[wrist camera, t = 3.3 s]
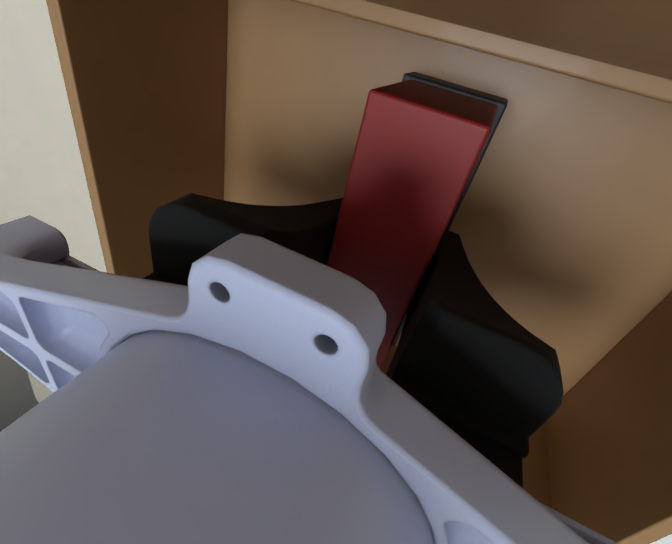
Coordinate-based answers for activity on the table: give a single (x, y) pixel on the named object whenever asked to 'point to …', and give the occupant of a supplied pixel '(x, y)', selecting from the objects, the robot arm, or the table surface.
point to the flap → (568, 26)
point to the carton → (475, 210)
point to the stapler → (408, 185)
